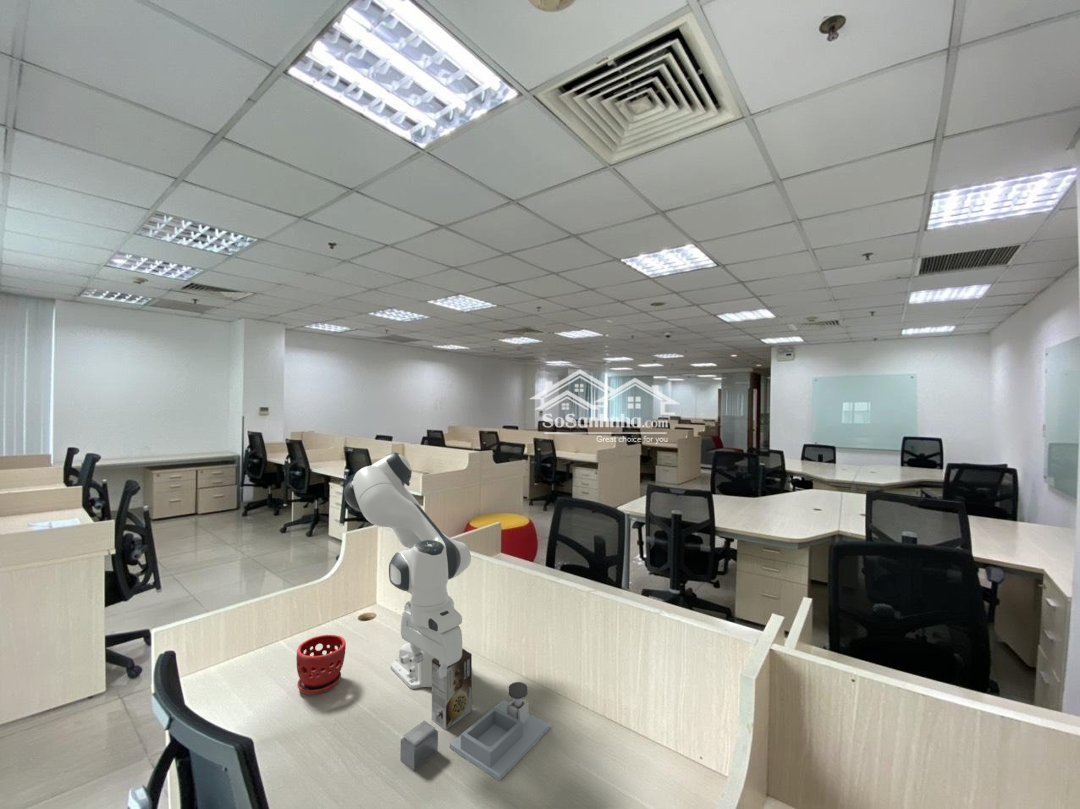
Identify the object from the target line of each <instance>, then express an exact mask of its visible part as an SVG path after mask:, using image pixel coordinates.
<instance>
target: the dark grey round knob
mask: <svg viewBox="0 0 1080 809" xmlns="http://www.w3.org/2000/svg"><path fill="white" fill-rule="evenodd" d="M528 689H529V688H528V685H527V684H526V683H524V682H522V681H515V682H512V683H511V684H509V686H508V696H510V698H512V699H514V707H516V708H521V707H522V699H523V698H525V697H526V696H527V695H528V694H529V693H528Z"/></svg>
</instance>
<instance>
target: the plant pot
mask: <svg viewBox="0 0 1080 809" xmlns="http://www.w3.org/2000/svg"><path fill="white" fill-rule="evenodd" d="M319 644H321V645H322V648H321V649H319V650H317V649H316V647H317V646H318V645H319ZM328 646H329V647H328ZM336 647H337V649H336ZM311 648H312V649H311ZM346 649H347V648H346V640H345V638H344V637H342V636H340V635H336V634H321V635H318V636H314V637H311V638H309V639H306V640H304V641H303V642H302V643H300V644H299V646H298V647H297V650H296V659H295V660H296V671H297V675H298V681H297V684H296V685H297V688H298V690H299V691H300V692H301V693H303V694H306V695H317V694H321V693H322V694H323V693H325V692H327V691H329V690H332V688H334V687H335V686H336V685H338V683H339V682H340V681H341V678H342V672H341V670H342V668H343V665H344V661H345V656H346ZM325 651H326V654H324V653H323V652H325ZM311 654H313V655H311Z"/></svg>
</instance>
